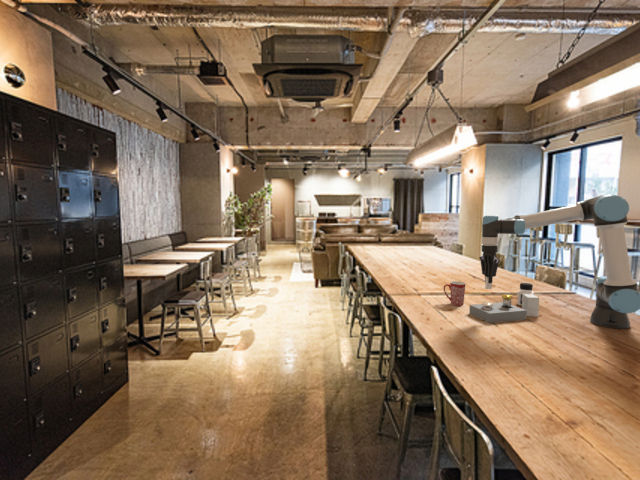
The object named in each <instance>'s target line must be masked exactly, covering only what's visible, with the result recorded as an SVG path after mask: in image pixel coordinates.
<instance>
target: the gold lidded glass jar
mask: <svg viewBox="0 0 640 480" xmlns="http://www.w3.org/2000/svg"><path fill="white" fill-rule="evenodd" d="M513 298H514V296H513V295H512V294H506V293H505V294H501V299H502V302H503V307H504V308H511V305H512V300H513Z"/></svg>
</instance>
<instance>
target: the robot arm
mask: <svg viewBox="0 0 640 480" xmlns="http://www.w3.org/2000/svg"><path fill="white" fill-rule="evenodd" d="M629 211H630V204H629V203H628V201H627V200H626V199H625V198H624V197H622V196H619V195H617V194H606V195H597V196H595V197H592V198H588V199H586V200H581V201H577V202H576V203H575V204H573V205H568V206H564V207H558V208H554V209H549V210H544V211H540V212H535V213H530V214H525V215H521V216H516V217H508V218H504V219H502V218H499V215H484V216H482V222H481V224H482V225H481V230H482V231H481V232H482V233H481V244H482V245H481V252H482V256H481V255H480V256H479V257H478V258H479V260H480V267H481V274H482V275H484V283H485V285H484V286H485V287H484V288H485V289H486V290H492V287H493V278H494V277H496V276H497V273H498V267H499V264H500V261H501V260H500V259H498V258H497V253H498V245H499V244H498V243H499V241H498V239H499V234H500V235H503V234H504V235H505V234H506V235H523V234H525V232H526V230H529V229H535V228H540V227H546V226H551V225H556V224H562V223H567V222H571V221H572V222H573V221H577V220H579V221H582V222H583V221H588V220H593V225H594V227H595V228H597V229H598V230H599V236H600V243H601V249H602V250H601V251H602V257H603V262H604V270H605V275H606V277H605V278H604V277H599V278H598V279H597V281H596V293H595V295H596V296H595V307H594V309H593V311H592V313H591V315H590V319H589V320H590V322H591V323H592V324H595V325H598V326H601V327H605V328H610V329H618V330H620V329H621V330H622V329H623V330H625V329H630V327H631V321H630V317H629V315H628V314H633V313H635V312H637V311H639V310H640V292H639V288H638V282H637V280H634V279H633V278H632V273H631V267H630V259H629V253H628V245H627V238H626V233H625V225H627V223H628V217H627V216H628V213H629Z"/></svg>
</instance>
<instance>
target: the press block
mask: <svg viewBox="0 0 640 480" xmlns="http://www.w3.org/2000/svg"><path fill="white" fill-rule="evenodd" d="M491 303H492V304H493V307H492V310H486V309H483V306H482V303H476V304H469V310H468V311H469V314H470V315H471V316H473V317H476V318H478V319H480V320H481V321H484V322H486V323H489V324H495V323H503V322H515V321H524V320H527V315H526V310H524V309H522V307H521V308H520V307H518V306H515V305H512V304H511V308H504V307H503V301H502V302H501V301H500V302H491Z"/></svg>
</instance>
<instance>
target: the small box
mask: <svg viewBox="0 0 640 480" xmlns="http://www.w3.org/2000/svg"><path fill="white" fill-rule="evenodd" d="M539 305H540V297H538V296H537V295H535V294H534V295H533V294H522V305H521V309H524V310H526V317H539V313H540V312H539V311H540V308H539V307H540V306H539Z"/></svg>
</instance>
